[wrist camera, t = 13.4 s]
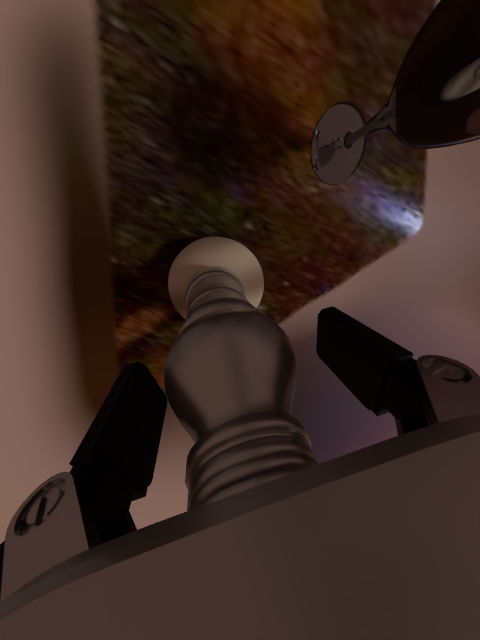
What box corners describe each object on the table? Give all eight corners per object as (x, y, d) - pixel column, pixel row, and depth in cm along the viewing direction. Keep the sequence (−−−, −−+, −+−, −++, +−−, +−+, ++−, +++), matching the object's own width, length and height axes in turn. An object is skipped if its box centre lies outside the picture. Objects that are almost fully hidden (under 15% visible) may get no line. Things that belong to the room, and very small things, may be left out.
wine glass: (357, 72, 17) (841, -430, 4) (377, 155, 21) (671, 24, 8) (295, 136, 19) (517, -94, 6) (324, 204, 22) (500, 161, 9)
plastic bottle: (175, 290, 21) (17, 618, 3) (214, 249, 19) (324, 402, 2) (213, 322, 23) (246, 581, 6) (249, 288, 22) (423, 489, 5)
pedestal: (156, 248, 21) (149, 250, 18) (249, 226, 22) (256, 225, 19) (189, 329, 27) (188, 339, 24) (262, 309, 27) (268, 317, 25)
